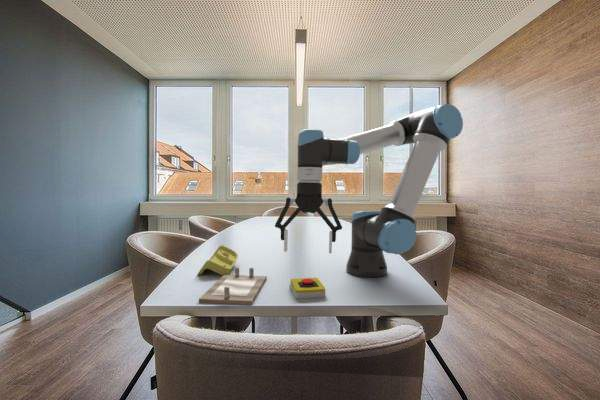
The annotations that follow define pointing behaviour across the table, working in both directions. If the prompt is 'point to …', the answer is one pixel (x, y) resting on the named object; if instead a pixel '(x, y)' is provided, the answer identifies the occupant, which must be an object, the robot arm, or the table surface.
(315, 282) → the emergency button
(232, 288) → the nest plate
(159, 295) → the table surface
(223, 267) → the plastic component
